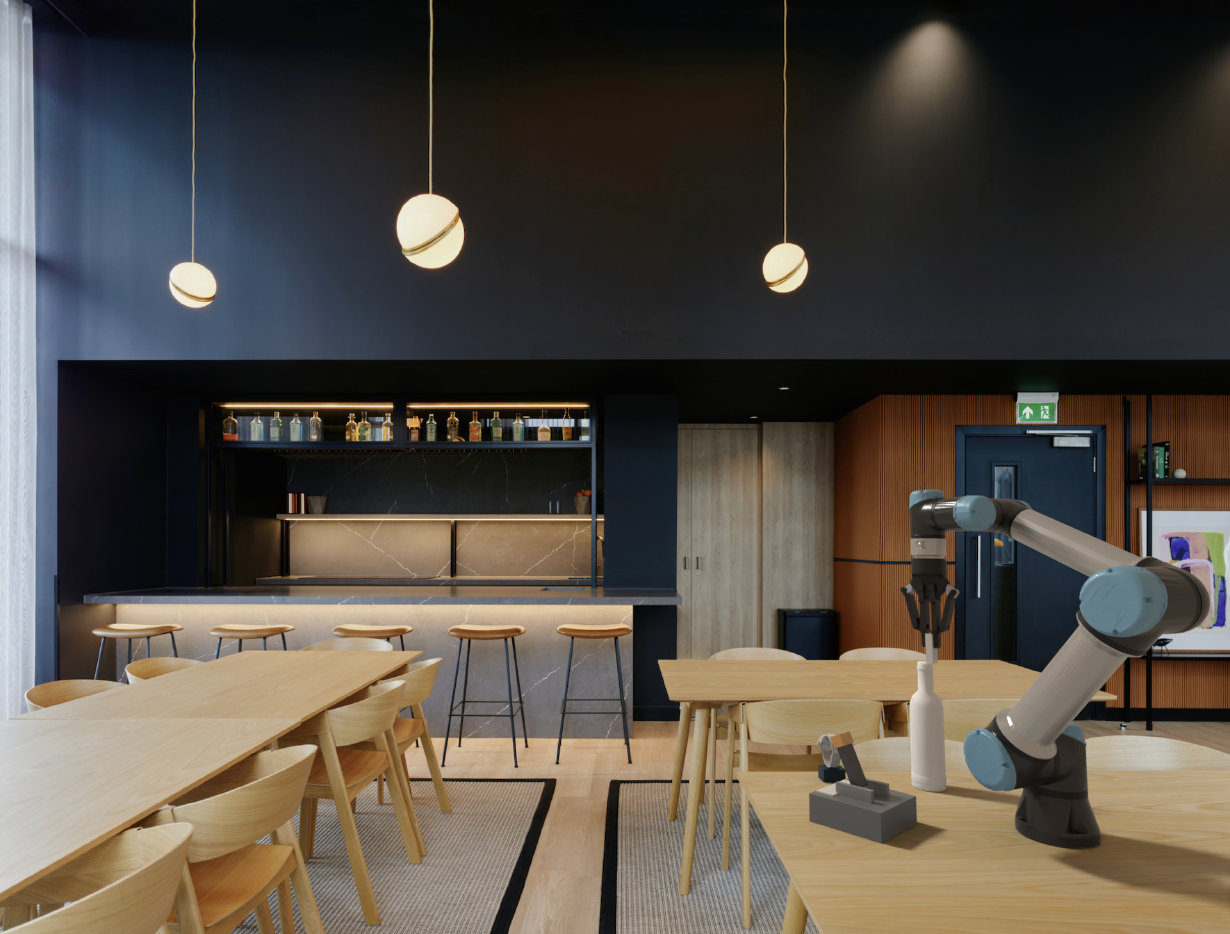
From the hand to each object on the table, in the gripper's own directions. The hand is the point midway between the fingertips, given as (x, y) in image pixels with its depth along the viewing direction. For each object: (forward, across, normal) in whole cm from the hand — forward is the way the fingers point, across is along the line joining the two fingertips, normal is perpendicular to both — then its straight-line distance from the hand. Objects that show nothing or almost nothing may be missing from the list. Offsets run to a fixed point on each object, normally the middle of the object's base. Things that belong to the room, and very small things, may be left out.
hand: (931, 662), depth 166 cm
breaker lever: (+26, -8, -18) cm, 33 cm away
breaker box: (+32, -8, -18) cm, 38 cm away
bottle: (+33, -9, +17) cm, 38 cm away
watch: (+33, -28, +4) cm, 43 cm away
